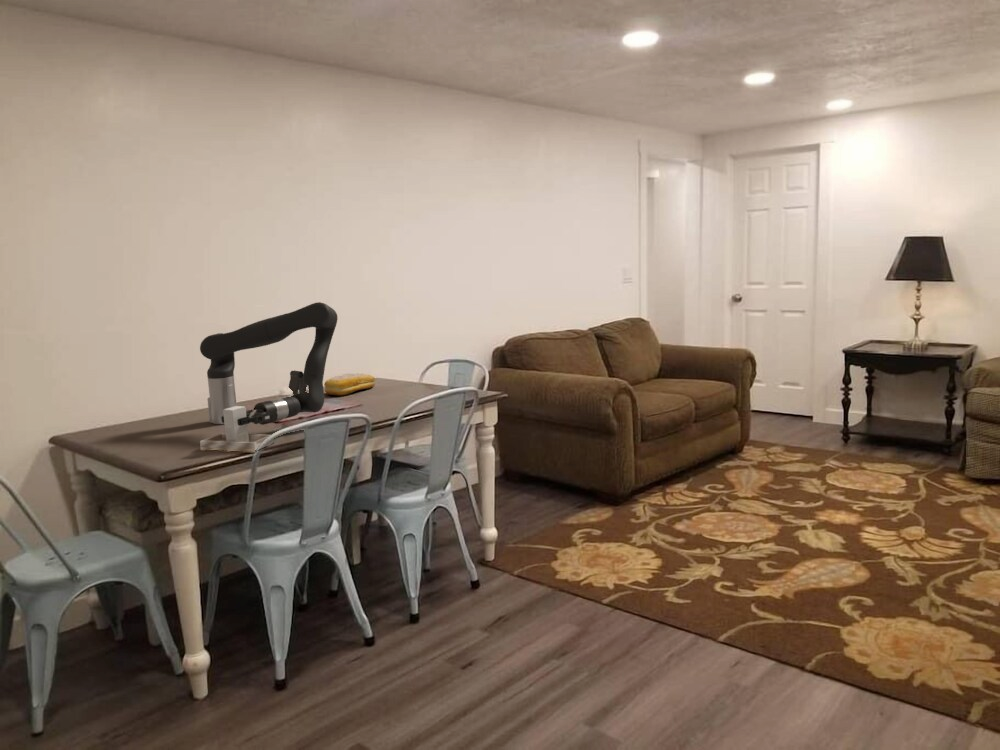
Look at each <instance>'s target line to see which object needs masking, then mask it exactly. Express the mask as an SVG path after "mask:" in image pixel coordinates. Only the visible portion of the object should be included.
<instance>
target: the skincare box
mask: <svg viewBox="0 0 1000 750" xmlns="http://www.w3.org/2000/svg"><path fill="white" fill-rule="evenodd" d="M246 410H247V408H246V406H243V405H242V406H241V405H237V406H234V407H231V408H227V409H224V410H223V415H224V424H223V425H224V430H225V432H224V433H226V441H235V442H249V434H250V433H249V427H248V426H249V424H245V425H241V426H239V425H238V422H237V420H238V419H239V418H244V417H247V416H246Z"/></svg>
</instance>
